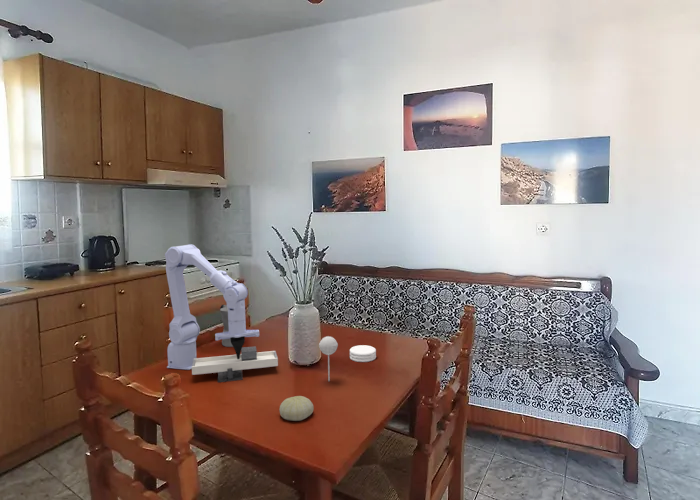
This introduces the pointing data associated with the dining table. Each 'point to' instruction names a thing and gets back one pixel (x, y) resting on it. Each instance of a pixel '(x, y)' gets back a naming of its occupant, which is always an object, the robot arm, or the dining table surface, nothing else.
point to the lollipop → (328, 348)
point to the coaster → (362, 353)
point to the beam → (233, 363)
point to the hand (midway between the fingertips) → (238, 358)
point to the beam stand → (230, 375)
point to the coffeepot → (225, 325)
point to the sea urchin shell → (296, 408)
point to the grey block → (248, 353)
